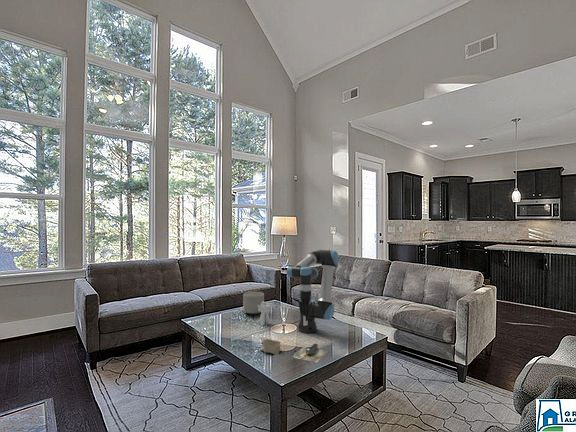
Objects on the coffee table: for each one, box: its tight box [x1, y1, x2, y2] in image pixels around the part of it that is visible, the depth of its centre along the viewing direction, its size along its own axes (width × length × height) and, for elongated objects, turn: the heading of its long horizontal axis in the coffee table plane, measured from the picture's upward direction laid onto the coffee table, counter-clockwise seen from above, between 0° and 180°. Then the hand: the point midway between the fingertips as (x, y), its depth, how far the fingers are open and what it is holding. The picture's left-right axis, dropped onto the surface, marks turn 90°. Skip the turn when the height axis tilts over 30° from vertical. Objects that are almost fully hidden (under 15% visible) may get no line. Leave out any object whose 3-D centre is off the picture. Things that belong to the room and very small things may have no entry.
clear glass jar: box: [257, 301, 274, 326], centre depth 270 cm, size 12×13×18 cm
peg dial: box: [304, 343, 319, 357], centre depth 206 cm, size 20×6×3 cm, turn 153°
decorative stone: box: [259, 338, 281, 355], centre depth 211 cm, size 8×14×8 cm, turn 75°
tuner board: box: [292, 346, 329, 364], centre depth 206 cm, size 18×19×1 cm
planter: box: [242, 291, 265, 316], centre depth 298 cm, size 19×19×18 cm
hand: (305, 325), depth 217 cm, fingers closed
